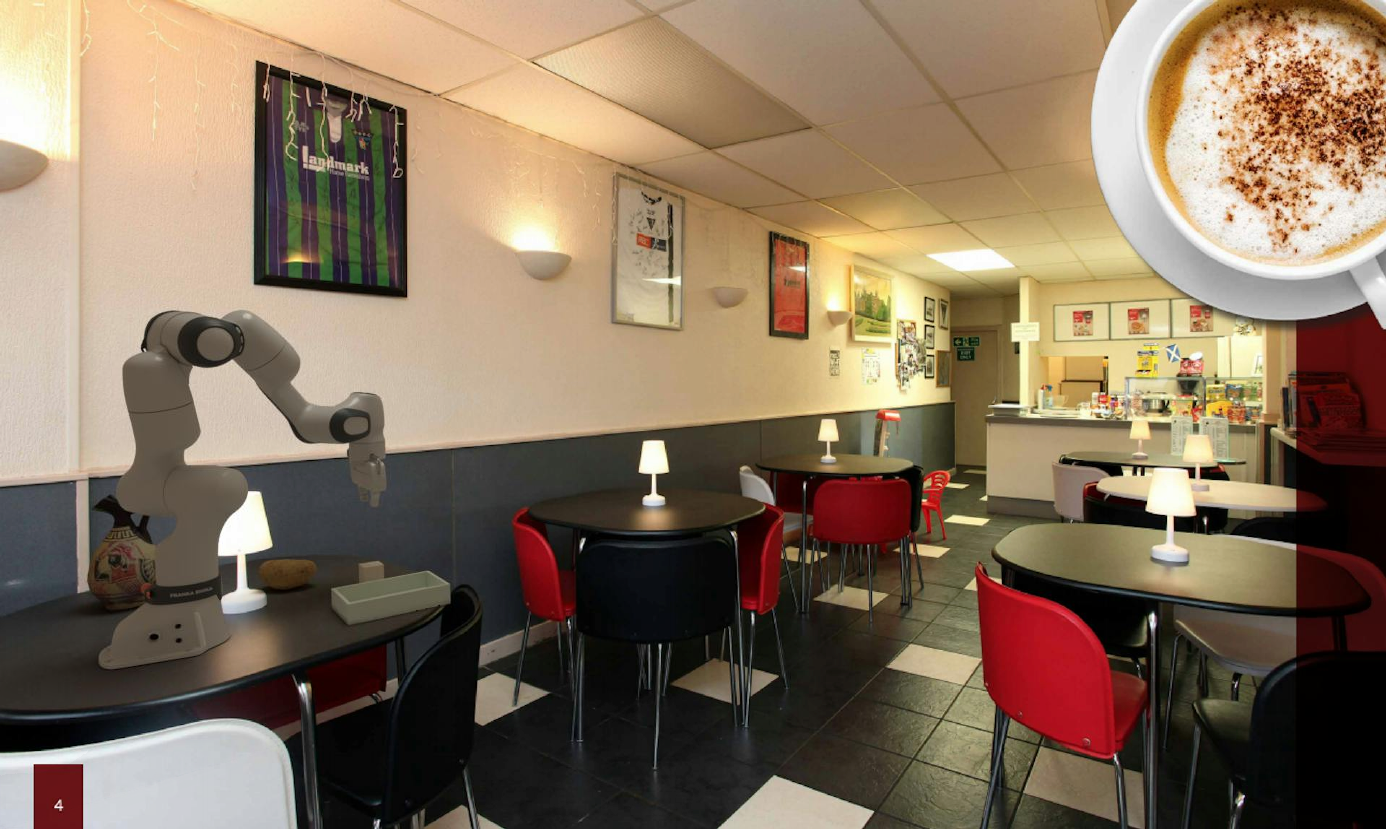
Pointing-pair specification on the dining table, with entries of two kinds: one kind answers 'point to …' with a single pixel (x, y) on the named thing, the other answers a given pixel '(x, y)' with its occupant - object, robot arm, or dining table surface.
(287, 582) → the potato
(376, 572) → the carton
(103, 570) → the ceramic jug
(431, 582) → the tote
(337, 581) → the dining table surface
